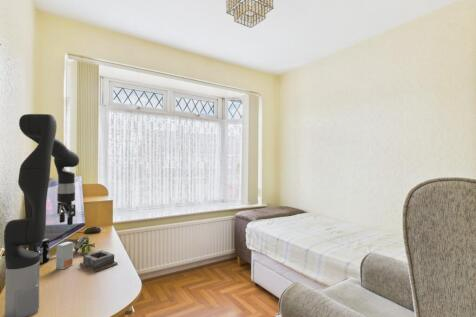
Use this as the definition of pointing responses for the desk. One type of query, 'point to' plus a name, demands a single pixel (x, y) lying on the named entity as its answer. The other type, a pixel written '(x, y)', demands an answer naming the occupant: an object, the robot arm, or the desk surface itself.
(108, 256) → the keyed holder
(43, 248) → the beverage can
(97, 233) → the desk surface
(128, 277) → the desk surface
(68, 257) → the skincare box
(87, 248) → the passion flower
